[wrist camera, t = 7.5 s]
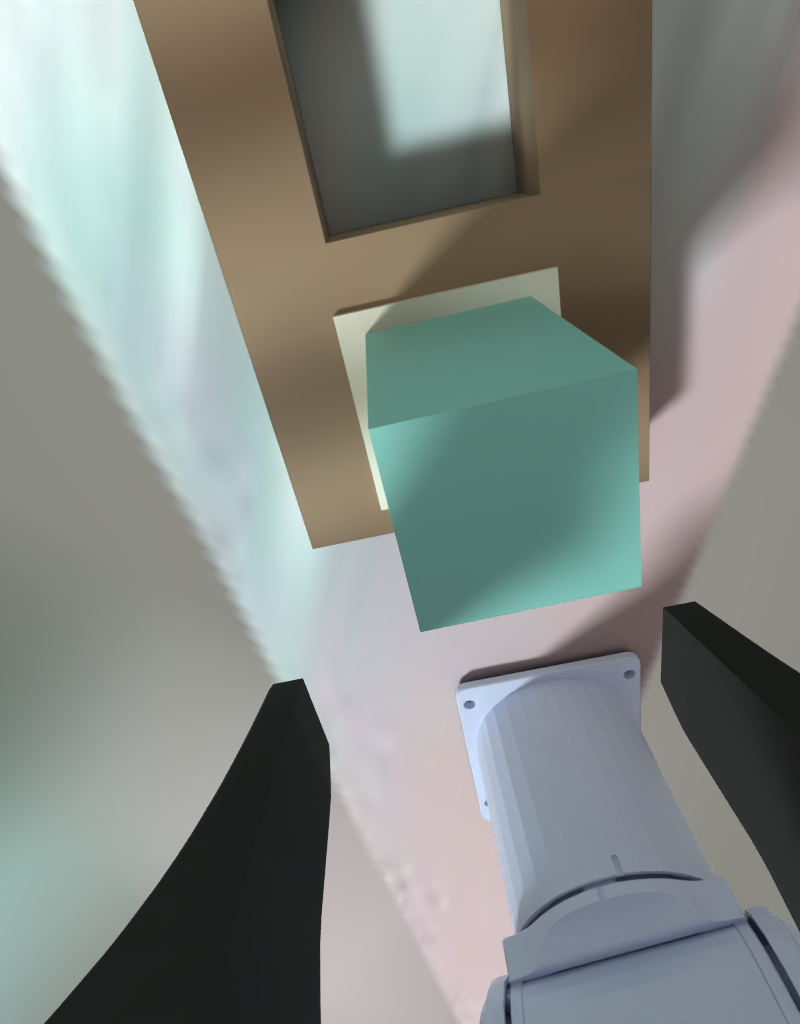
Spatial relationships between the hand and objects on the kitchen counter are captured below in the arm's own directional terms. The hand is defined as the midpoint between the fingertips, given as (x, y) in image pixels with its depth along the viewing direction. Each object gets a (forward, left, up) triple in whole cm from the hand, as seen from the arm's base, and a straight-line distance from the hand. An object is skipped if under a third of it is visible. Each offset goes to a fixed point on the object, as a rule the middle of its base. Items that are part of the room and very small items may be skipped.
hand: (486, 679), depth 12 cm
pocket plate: (+7, -1, -10) cm, 13 cm away
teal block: (+3, -1, -8) cm, 8 cm away
